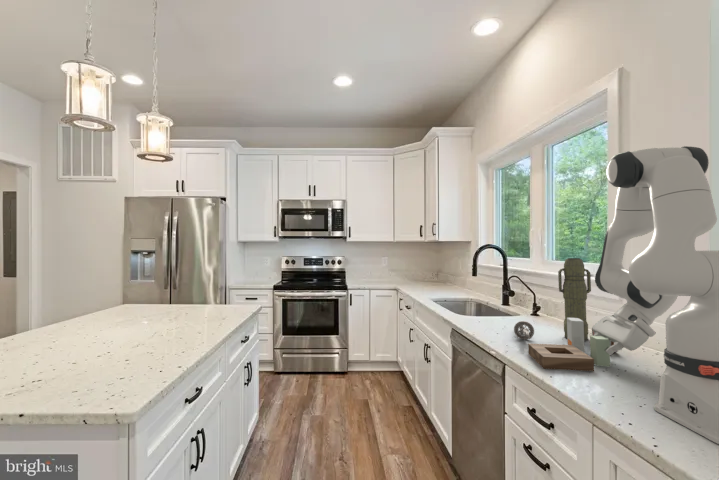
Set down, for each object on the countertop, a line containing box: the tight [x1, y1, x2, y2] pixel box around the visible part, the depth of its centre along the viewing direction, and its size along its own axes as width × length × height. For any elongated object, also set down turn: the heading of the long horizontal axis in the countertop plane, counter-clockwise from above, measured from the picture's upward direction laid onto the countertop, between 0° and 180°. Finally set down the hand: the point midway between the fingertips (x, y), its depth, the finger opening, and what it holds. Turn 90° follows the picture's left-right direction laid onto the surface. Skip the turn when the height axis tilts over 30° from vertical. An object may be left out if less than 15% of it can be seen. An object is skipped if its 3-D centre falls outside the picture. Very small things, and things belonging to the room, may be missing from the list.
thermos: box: [557, 257, 592, 342], centre depth 142 cm, size 9×12×35 cm
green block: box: [589, 335, 611, 367], centre depth 111 cm, size 4×4×9 cm
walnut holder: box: [527, 343, 595, 372], centre depth 113 cm, size 15×15×4 cm
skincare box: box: [566, 318, 586, 354], centre depth 126 cm, size 6×4×12 cm
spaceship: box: [513, 320, 535, 341], centre depth 141 cm, size 8×35×8 cm
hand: (599, 348), depth 111 cm, fingers open, 8 cm apart
